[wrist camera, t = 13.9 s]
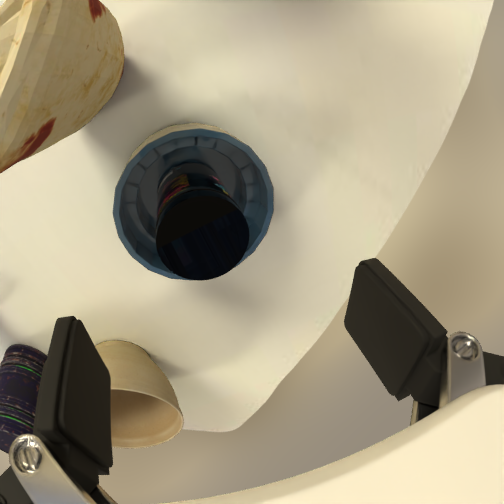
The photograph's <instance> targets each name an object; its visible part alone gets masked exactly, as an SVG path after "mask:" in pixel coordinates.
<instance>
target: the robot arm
mask: <svg viewBox="0 0 504 504" xmlns="http://www.w3.org/2000/svg"><path fill="white" fill-rule="evenodd" d="M344 324H345V328H346V330H347V331H348V333H349V334H350V335H351V337H352V338H353V340H354V341H355V343H356V344H357V346H358V347H359V349H360V350H361V352H362V353H363V355H364V356H365V357H366V359H367V360H368V362H369V363H370V365H371V366H372V368H373V369H374V371H375V372H376V374H377V375H378V377H379V378H380V380H381V381H382V383H383V384H384V386H385V387H386V389H387V390H388V392H389V393H390V394H391V395H393V396H394V395H395V397H396V398H397V400H398V401H400V400H402V399H403V398H405V397H407V396H409V395H410V394H411V396H412V397H413V399H414V401H413V409H412V416H411V423H410V426H409V427H407V428H406V429H404V430H402V431H400V432H398V433H396V434H394V435H392V436H390V437H389V438H387V439H385V440H383V441H381V442H379V443H376V444H374V445H372V446H370V447H368V448H366V449H364V450H361V451H359V452H357V453H355V454H353V455H350V456H348V457H345V458H343V459H341V460H338V461H336V462H333V463H331V464H328V465H326V466H323V467H320V468H317V469H315V470H312V471H309V472H306V473H303V474H300V475H297V476H294V477H291V478H288V479H285V480H281V481H277V482H274V483H270V484H267V485H263V486H259V487H255V488H251V489H247V490H242V491H238V492H234V493H229V494H224V495H219V496H213V497H207V498H201V499H194V500H186V501H178V502H169V503H158V504H504V356H499V355H495V354H491V353H487V352H483V351H482V347H481V345H480V343H479V342H478V340H477V339H476V338H475V337H474V336H472V335H470V334H468V333H466V332H455V333H453V334H452V335H450V337H449V338H448V337H447V336H446V334H447V330H446V329H445V328H444V327H443V326H442V325H441V324H440V323H439V322H438V321H437V319H436V318H435V317H434V316H433V315H432V314H431V313H430V312H429V311H428V310H427V309H426V308H425V307H424V305H423V304H422V303H421V302H420V301H419V300H418V299H417V298H416V297H415V296H414V295H413V294H412V293H411V292H410V291H409V290H408V289H407V288H406V287H405V286H404V285H403V284H402V283H401V282H400V281H399V280H398V279H397V278H396V277H395V276H394V275H393V274H392V273H391V272H390V271H389V270H388V269H387V268H386V267H385V266H384V265H383V264H382V263H381V262H380V261H379V260H378V259H376V258H372V259H368V260H363V261H361V262H360V263H359V265H358V266H357V267H356V269H355V273H354V278H353V283H352V288H351V293H350V297H349V302H348V307H347V311H346V315H345V319H344ZM9 462H10V464H11V466H10V467H9V468H8V469H7V470H6V471H5V472H4V473H3V474H2V475H1V476H0V504H117V503H116V502H115V501H114V500H113V499H112V498H111V497H110V496H109V495H108V494H107V493H106V492H105V491H104V490H103V489H102V488H101V486H99V476H98V475H109V467H112V465H113V457H112V440H111V377H110V373H109V370H108V368H107V367H106V365H105V363H104V362H103V360H102V358H101V356H100V355H99V353H98V351H97V349H96V348H95V346H94V344H93V342H92V340H91V338H90V336H89V335H88V333H87V331H86V329H85V327H84V325H83V323H82V321H81V320H77V319H76V318H75V317H74V316H69V317H62V318H58V319H57V321H56V324H55V328H54V331H53V335H52V339H51V344H50V348H49V352H48V357H47V360H46V361H45V363H44V366H43V370H42V375H41V380H40V386H39V392H38V398H37V404H36V411H35V419H34V427H33V435H32V434H24V435H21V436H19V437H17V438H16V439H15V440H14V441H13V443H12V445H11V447H10V450H9Z"/></svg>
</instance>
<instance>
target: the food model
mask: <svg viewBox="0 0 504 504" xmlns="http://www.w3.org/2000/svg"><path fill="white" fill-rule="evenodd" d="M123 68H124V47H123V41H122V36H121V32H120V29H119V26H118V23H117V21H116V19H115V18H114V16H113V15H112V14H111V12H110V11H109V10H108V9H107V8H106V7H105V6H104V5H103V4H102V3H101V2H100V1H99V0H6V1H5V2H4V4H3V5H2V6H1V7H0V173H2V172H3V171H5V170H6V169H8V168H10V167H11V166H13V165H14V164H16V163H17V162H19V161H21V160H24V159H26V158H28V157H30V156H32V155H35V154H37V153H38V152H40V151H42V150H44V149H46V148H48V147H50V146H52V145H53V144H55V143H57V142H58V141H60V140H62V139H64V138H65V137H67V136H69V135H71V134H73V133H75V132H77V131H78V130H79V129H81V128H82V127H83V126H85V125H86V124H87V123H89V122H90V121H91V120H92V118H93V117H94V116H95V115H96V114H97V113H98V112H99V111H100V110H101V109H102V107H103V106H104V105H105V104H106V103H107V102H108V101H109V99H110V98H111V97H112V95H113V93H114V91H115V89H116V87H117V85H118V83H119V81H120V79H121V76H122V74H123Z"/></svg>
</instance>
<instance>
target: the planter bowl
mask: <svg viewBox="0 0 504 504" xmlns="http://www.w3.org/2000/svg"><path fill="white" fill-rule="evenodd" d="M95 348H96V349H97V351H98V353H99V355H100V356H101V358H102V360H103V362H104V363H105V365H106V367H107V368H108V370H109V373H110V377H111V440H112V447H116V448H127V449H129V448H131V449H133V448H145V447H151V446H155V445H158V444H161V443H164V442H167V441H169V440H170V439H172V438H173V437H175V436H176V435H177V434H178V433H179V432H180V431H181V429H182V427H183V423H184V419H183V415H182V412H181V409H180V408H179V404H178V401H177V397H176V395H175V392H174V390H173V388H172V386H171V384H170V382H169V380H168V379H167V377H166V376H165V374H164V373H163V372H162V371H161V369H160V368H159V367H158V366H157V365H156V364H155V363H154V362H153V361H152V360H151V359H150V357H149V355H148V354H147V353H146V352H145V351H144V350H143V349H142V348H140V347H139V346H137V345H135V344H132V343H129V342H125V341H116V340H113V341H106V342H102V343H100V344H98V345H96V346H95Z"/></svg>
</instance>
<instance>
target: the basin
mask: <svg viewBox="0 0 504 504" xmlns="http://www.w3.org/2000/svg"><path fill="white" fill-rule="evenodd" d="M184 163H199V164H203V165H205V166H208V167H209V168H211V169H212V170H213V171H215V173H216V174H217V175H218V176H219V178H220V179H221V181H222V182H223V184H224V186H225V187H226V189H227V190H228V192H229V193H230V195H231V197H232V198H233V200H234V201H235V202H236V203H237V205H238V206H239V208H240V209H241V211H242V213H243V215H244V216H245V218H246V220H247V223H248V226H249V235H250V236H249V244H248V247H247V250H246V252H245V254H244V256H243V258H242V259H241V260H240V262H239V263H238V264H237V265H236V266H238V265H239V264H240V263H241V262H242V261H244V260H245V259H246V258H247V257H248V256H249V255H251V254H252V253H253V252H254V251H255V249H256V248H257V247H258V245H259V244H260V242H261V241H262V239H263V238H264V236H265V235H266V233H267V230H268V227H269V224H270V221H271V218H272V214H273V211H274V204H273V186H272V183H271V180H270V177H269V175H268V172H267V169H266V167H265V165H264V164H263V162H262V161H261V160H260V159H259V157H258V156H257V155H256V154H255V153H254V151H253V150H252V149H251V148H250V147H249V146H248V145H246V144H245V143H243V142H242V141H240V140H239V139H237V138H236V137H234V136H232V135H231V134H229V133H227V132H226V131H224V130H222V129H220V128H219V127H216V126H211V125H206V124H201V123H194V122H193V123H185V124H178V125H171V126H169V127H167V128H165V129H163V130H161V131H159V132H156V133H154V134H152V135H151V136H149V137H148V138H147V139H146V140H145V141H144V142H143V143H142V144H141V145H140V146H139V147H138V148H137V149H136V150H135V151H134V152H133V153H132V155H131V156H130V158H129V160H128V162H127V164H126V166H125V168H124V171H123V173H122V175H121V177H120V179H119V181H118V184H117V186H116V189H115V196H114V205H113V217H114V221H115V225H116V229H117V233H118V236H119V238H120V240H121V242H122V243H123V245H124V246H125V248H126V249H127V251H128V252H129V254H130V255H131V256H132V257H133V258H134V259H135V260H137V261H138V262H139V263H140V264H142V265H143V266H144V267H146V268H147V269H148V270H150V271H152V272H155V273H157V274H160V275H163V276H165V277H168V278H171V279H182V280H190V279H185V278H183V277H180V276H178V275H176V274H174V273H173V272H171V271H170V270H169V269H168V268H167V267H166V266H165V265H164V264H163V262H162V261H161V259H160V257H159V255H158V252H157V248H156V218H157V191H158V187H159V184H160V182H161V180H162V178H163V177H164V176H165V174H166V173H167V172H169V171H170V170H171V169H172V168H174V167H176V166H178V165H181V164H184ZM236 266H235V267H236Z"/></svg>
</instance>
